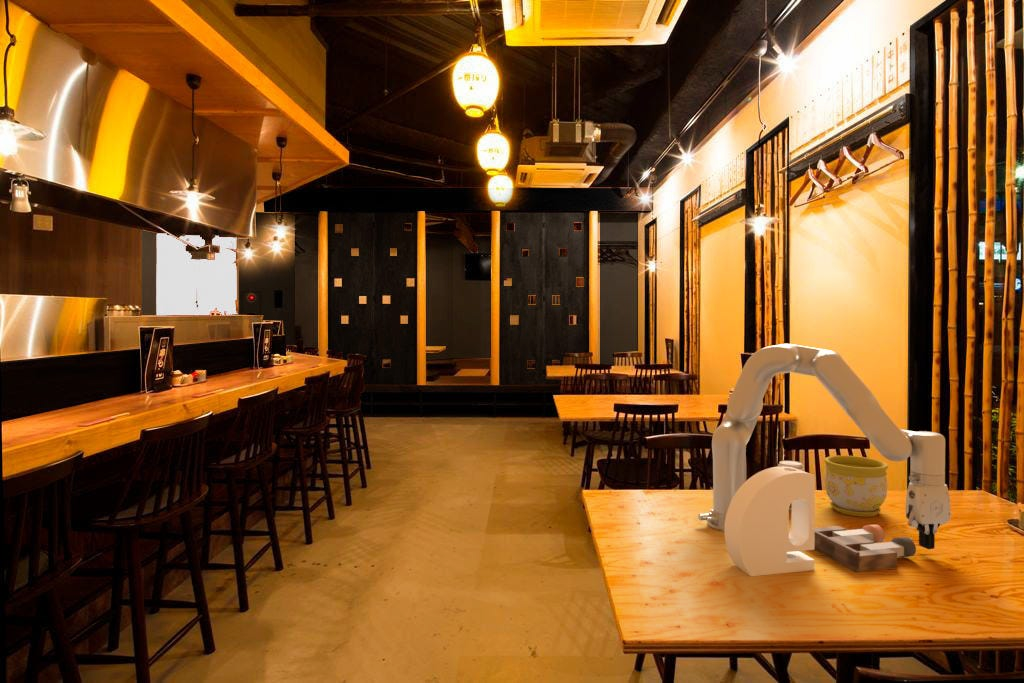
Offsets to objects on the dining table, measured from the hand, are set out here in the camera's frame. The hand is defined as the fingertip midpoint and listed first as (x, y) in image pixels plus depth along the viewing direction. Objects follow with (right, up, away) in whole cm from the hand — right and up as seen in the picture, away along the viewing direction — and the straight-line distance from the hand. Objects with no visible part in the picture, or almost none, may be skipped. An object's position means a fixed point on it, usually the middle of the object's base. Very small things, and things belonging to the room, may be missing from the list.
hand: (926, 547), depth 156 cm
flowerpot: (+3, -1, +37) cm, 38 cm away
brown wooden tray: (-21, -3, +1) cm, 21 cm away
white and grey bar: (-12, -2, -2) cm, 12 cm away
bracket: (-45, -3, -7) cm, 46 cm away
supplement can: (-16, -1, +42) cm, 45 cm away
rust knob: (-14, -2, +8) cm, 16 cm away
